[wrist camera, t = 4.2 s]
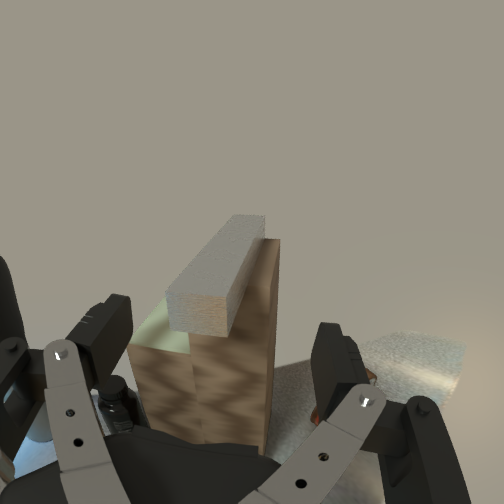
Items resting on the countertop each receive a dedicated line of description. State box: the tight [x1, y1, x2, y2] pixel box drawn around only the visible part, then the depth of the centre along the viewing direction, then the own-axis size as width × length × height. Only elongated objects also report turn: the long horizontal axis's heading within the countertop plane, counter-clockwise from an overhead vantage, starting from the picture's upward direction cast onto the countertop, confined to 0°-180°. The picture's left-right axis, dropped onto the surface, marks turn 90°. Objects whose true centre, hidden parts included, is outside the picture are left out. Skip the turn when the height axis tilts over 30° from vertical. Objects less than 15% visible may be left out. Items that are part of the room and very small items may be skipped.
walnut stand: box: [126, 239, 280, 456], centre depth 40 cm, size 16×14×32 cm
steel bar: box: [165, 215, 265, 337], centre depth 30 cm, size 4×22×3 cm, turn 172°
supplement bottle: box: [98, 375, 148, 435], centre depth 42 cm, size 7×7×12 cm
